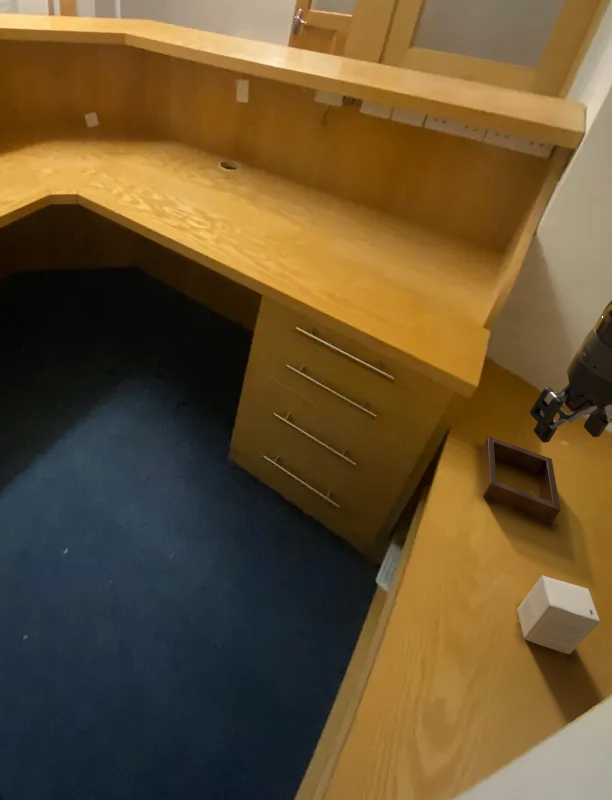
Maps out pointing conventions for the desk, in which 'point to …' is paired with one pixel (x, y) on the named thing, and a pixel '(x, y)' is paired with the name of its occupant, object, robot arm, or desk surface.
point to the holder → (513, 497)
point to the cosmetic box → (557, 614)
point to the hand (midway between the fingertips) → (565, 434)
